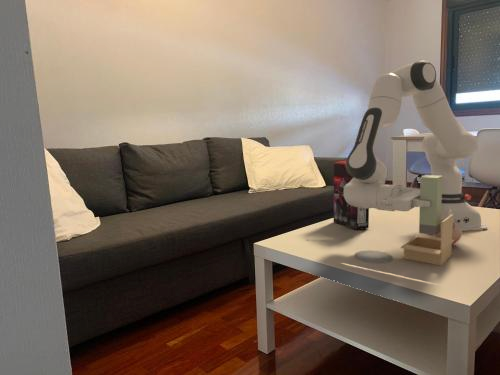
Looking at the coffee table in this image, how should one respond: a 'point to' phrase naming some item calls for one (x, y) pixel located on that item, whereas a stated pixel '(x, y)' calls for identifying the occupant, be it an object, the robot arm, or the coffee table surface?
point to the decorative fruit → (453, 232)
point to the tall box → (431, 214)
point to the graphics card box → (342, 209)
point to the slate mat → (373, 256)
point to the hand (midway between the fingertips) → (433, 201)
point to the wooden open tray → (431, 245)
